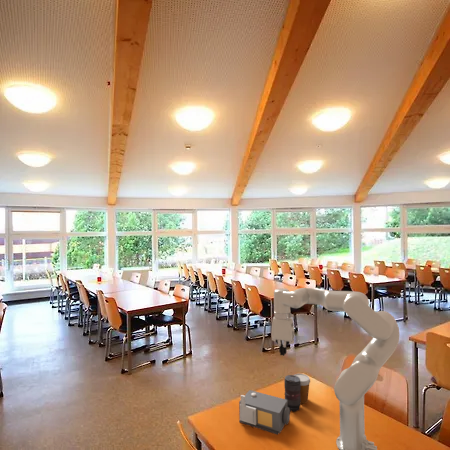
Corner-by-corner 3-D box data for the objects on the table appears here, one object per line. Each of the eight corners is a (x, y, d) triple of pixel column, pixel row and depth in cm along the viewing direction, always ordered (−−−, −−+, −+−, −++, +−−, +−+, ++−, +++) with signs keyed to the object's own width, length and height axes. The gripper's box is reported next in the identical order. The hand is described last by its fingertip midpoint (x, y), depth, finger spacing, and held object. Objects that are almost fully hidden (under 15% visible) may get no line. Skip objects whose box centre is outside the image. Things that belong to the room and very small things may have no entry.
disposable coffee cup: (288, 397, 165) (288, 375, 165) (302, 393, 169) (302, 371, 169) (300, 407, 156) (299, 383, 156) (314, 402, 160) (314, 379, 160)
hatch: (256, 424, 141) (256, 398, 141) (255, 425, 140) (254, 400, 140) (241, 419, 145) (240, 394, 145) (239, 420, 144) (239, 395, 144)
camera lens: (301, 413, 151) (300, 382, 151) (284, 411, 152) (284, 381, 152) (300, 404, 159) (300, 375, 159) (284, 402, 160) (284, 373, 160)
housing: (291, 419, 146) (290, 399, 146) (282, 436, 134) (281, 413, 134) (249, 407, 156) (249, 388, 156) (238, 422, 145) (238, 401, 145)
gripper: (300, 315, 144) (300, 354, 143) (270, 311, 151) (270, 349, 151) (295, 319, 137) (296, 360, 137) (264, 315, 144) (265, 354, 144)
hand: (283, 354), depth 144 cm, fingers closed
